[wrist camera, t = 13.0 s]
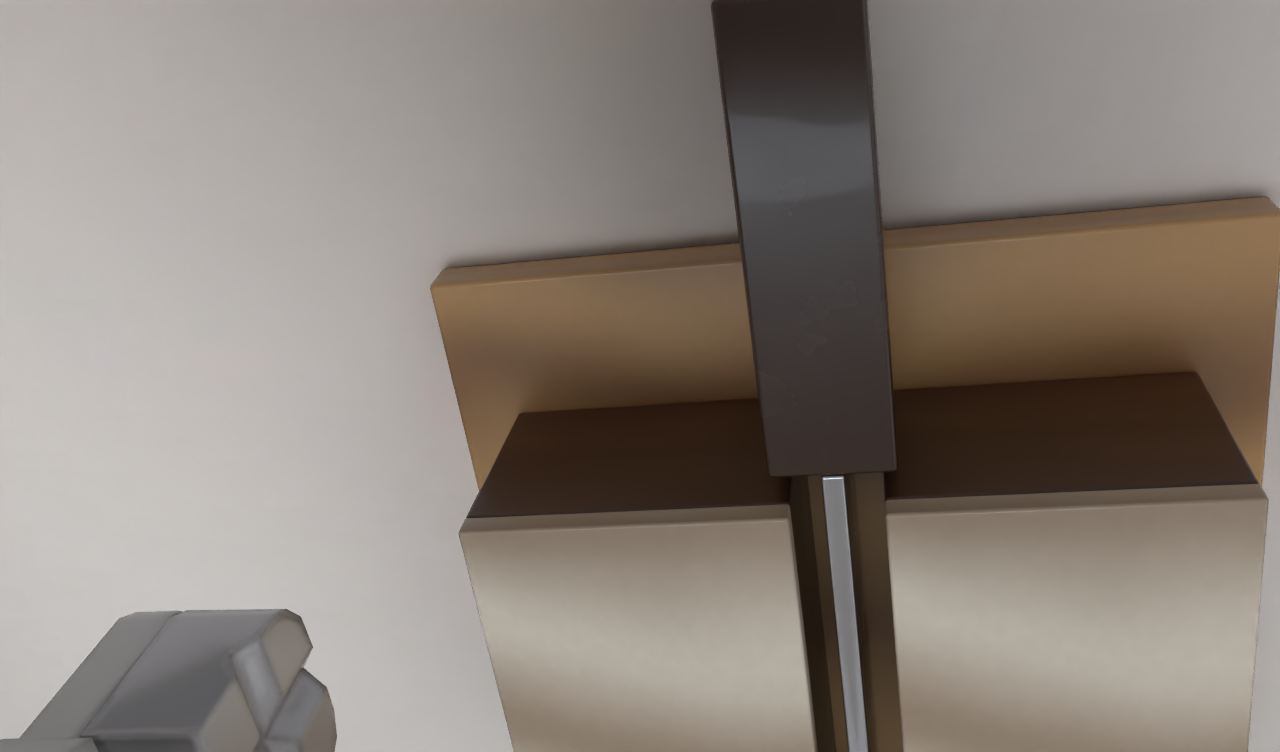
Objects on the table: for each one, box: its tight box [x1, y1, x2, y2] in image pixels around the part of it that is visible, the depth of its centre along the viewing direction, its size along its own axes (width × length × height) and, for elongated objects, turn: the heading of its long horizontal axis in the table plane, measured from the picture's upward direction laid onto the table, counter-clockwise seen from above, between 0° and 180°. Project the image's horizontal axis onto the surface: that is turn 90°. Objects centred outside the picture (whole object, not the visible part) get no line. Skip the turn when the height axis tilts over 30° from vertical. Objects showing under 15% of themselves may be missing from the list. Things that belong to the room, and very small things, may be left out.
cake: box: [430, 197, 1280, 752], centre depth 25 cm, size 16×16×6 cm
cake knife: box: [711, 0, 898, 752], centre depth 23 cm, size 20×2×4 cm, turn 9°
